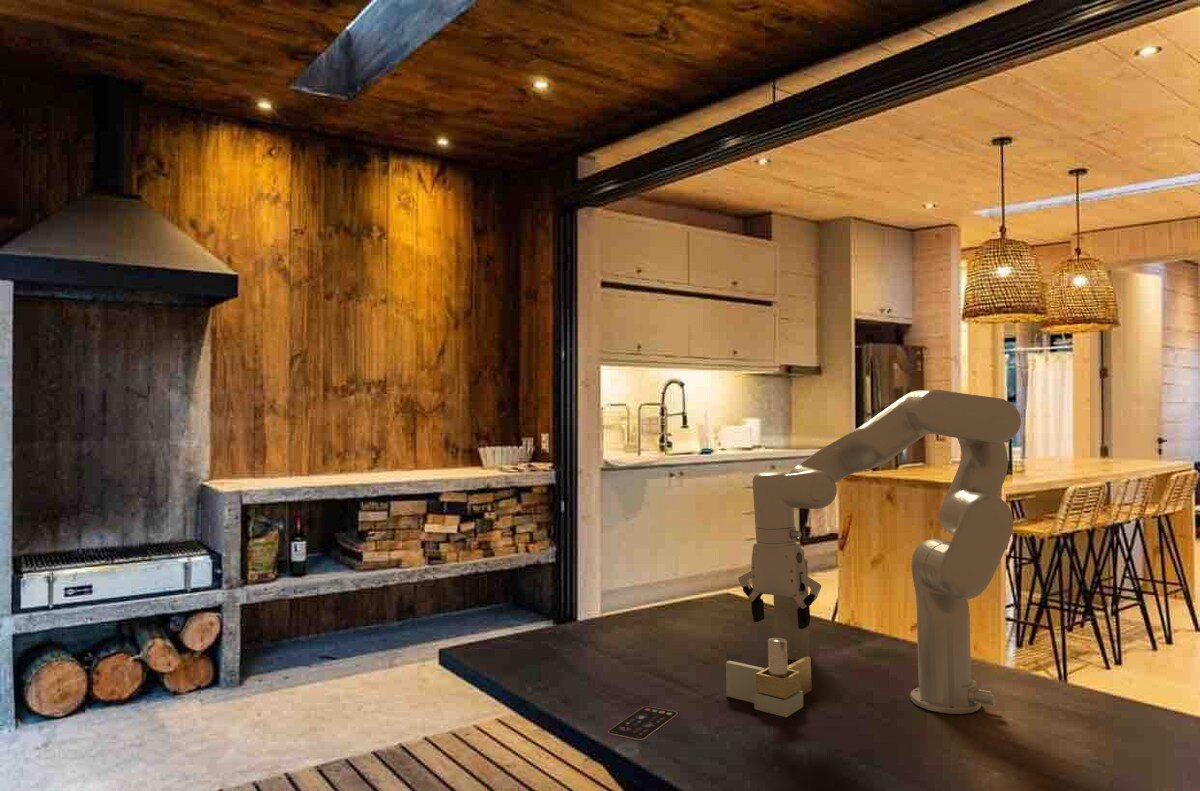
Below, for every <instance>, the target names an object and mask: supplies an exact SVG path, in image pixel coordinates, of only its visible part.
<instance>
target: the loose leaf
mask: <svg viewBox="0 0 1200 791" xmlns="http://www.w3.org/2000/svg"><path fill="white" fill-rule="evenodd" d="M764 669H765V668H764V667H760V666H757V665H751V664H748V663H742V662H738V661H734V660H733V661H732V660H727V661H726V662H725V677H726V678H725V680H726V684H725V685H726V689H725V690H726V697H729V698H732V699H737V700H740V701H744V702H748V703H752V704H754V707H753V708H754V710H757V711H761V712H765V713H767V714H772V715H776V716H781V717H783V718H787V717H789V716H791V715H793V714H794V713H796V712H797V711H799V710H800V709H802V708H804V695H803V691H800V690H799V691H798V692H796V693H794V694H793V695H791V696H789V697H788V698H787V699H785V700H784V699H780V698H776V697H772V696H769V695H768V694H764V693H759V692H756V673H758V672H760V671H762V670H764Z"/></svg>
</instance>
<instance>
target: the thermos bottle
mask: <svg viewBox="0 0 1200 791" xmlns="http://www.w3.org/2000/svg"><path fill="white" fill-rule="evenodd" d="M800 540H801V538H797V539H796V542H799V543H800V544H801V542H800ZM802 552H803V556H804V561H805V566H806V573H807V576H808V577H809V574H808V568H809V567H808V559H807V558H805V554H806V553H805V550H804V548H802ZM805 593H806V594H807V595H809V588H808V589H807V591H806V592H805ZM772 596H773V626H774V631H773V632H774V637H773V638H783V639H786V640H787V660H791V661H798V660H800V659H802V658H804V657H806V656H808V657H811V656H810V625H809V626H808V627H806V628H804V629H799V628H798V615H797V609H798V608H799V607H800V606H799V604H798V603H797V602H796V600H795V599H794V598H793V597H785V596H777V595H772Z"/></svg>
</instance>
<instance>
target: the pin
mask: <svg viewBox="0 0 1200 791" xmlns="http://www.w3.org/2000/svg"><path fill="white" fill-rule="evenodd" d="M767 653H768V655H767V659H768V667H769V675H770V676H774V677H779V678H783V679H784V678H785V677H787V676H788V665H789V663H788V659H787V640H786V639H783V638H774V637H770V638H768V639H767ZM769 696H772V695H769ZM772 697H776V696H772ZM776 698H780V697H776ZM787 698H788V697H787ZM787 698H786V699H787ZM780 699H784V698H780ZM784 700H785V699H784Z"/></svg>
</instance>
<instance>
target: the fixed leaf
mask: <svg viewBox="0 0 1200 791" xmlns="http://www.w3.org/2000/svg"><path fill="white" fill-rule="evenodd" d="M811 659H812V658H811V656H809V657H808V656H806V657H804V658H802V659H800V660H795V661H794V662H793V663H791V664H788V676H787V677H785V678H784V679H783V678H779V677H774V676H770V675H769V666H767V667H766V668H764V670H762V671H760V672H758V673H756V692H759V693H764V694H768V695H772V696H776V697H780V698H784V699H786V698H787V697H789V696H791V695H793V694H794V693H796V692H798V691H799V690H800V691H803V696H804V695H806V694H808V693H809V692H811V691H812V660H811Z"/></svg>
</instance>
